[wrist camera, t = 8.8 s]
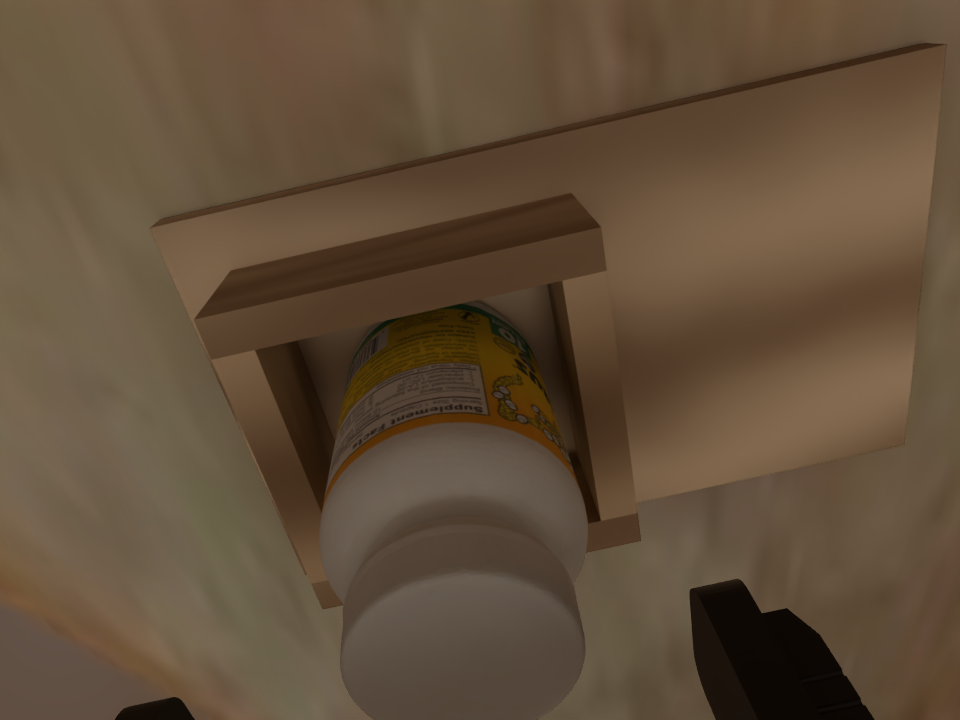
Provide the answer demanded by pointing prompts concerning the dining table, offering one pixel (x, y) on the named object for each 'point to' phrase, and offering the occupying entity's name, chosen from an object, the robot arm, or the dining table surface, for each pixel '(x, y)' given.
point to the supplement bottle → (453, 524)
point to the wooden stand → (605, 284)
